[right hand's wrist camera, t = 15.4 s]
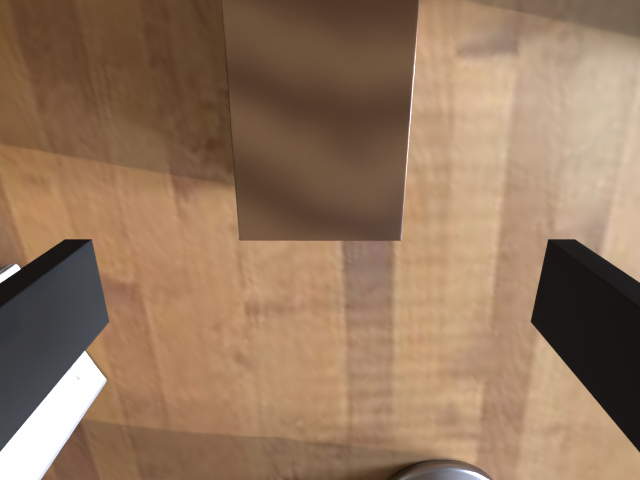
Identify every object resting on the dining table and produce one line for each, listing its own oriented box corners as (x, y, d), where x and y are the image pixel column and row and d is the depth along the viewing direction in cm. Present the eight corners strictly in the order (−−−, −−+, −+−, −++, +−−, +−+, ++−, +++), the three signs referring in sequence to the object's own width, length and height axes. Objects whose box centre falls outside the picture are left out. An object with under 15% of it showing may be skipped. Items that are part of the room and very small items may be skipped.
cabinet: (250, -40, 32) (213, -98, 21) (390, -40, 32) (427, -98, 21) (262, 191, 38) (239, 240, 27) (377, 191, 38) (401, 241, 27)
